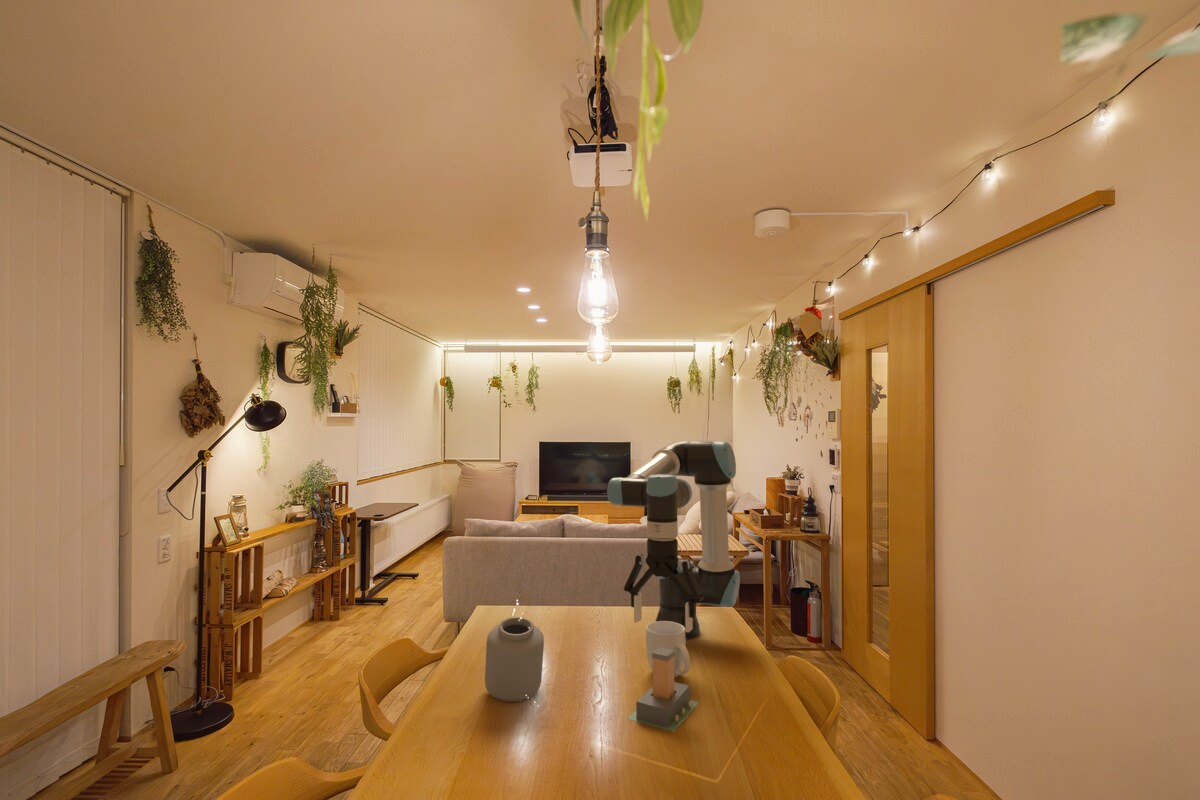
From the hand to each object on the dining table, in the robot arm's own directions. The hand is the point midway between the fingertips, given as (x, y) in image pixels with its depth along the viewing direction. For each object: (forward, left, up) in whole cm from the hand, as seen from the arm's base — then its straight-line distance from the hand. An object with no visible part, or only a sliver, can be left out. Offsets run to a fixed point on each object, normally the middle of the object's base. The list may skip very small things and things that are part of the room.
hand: (662, 625), depth 141 cm
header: (0, 0, -21) cm, 21 cm away
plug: (0, 0, -20) cm, 20 cm away
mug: (-19, -7, -21) cm, 29 cm away
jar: (+11, -37, -21) cm, 44 cm away
